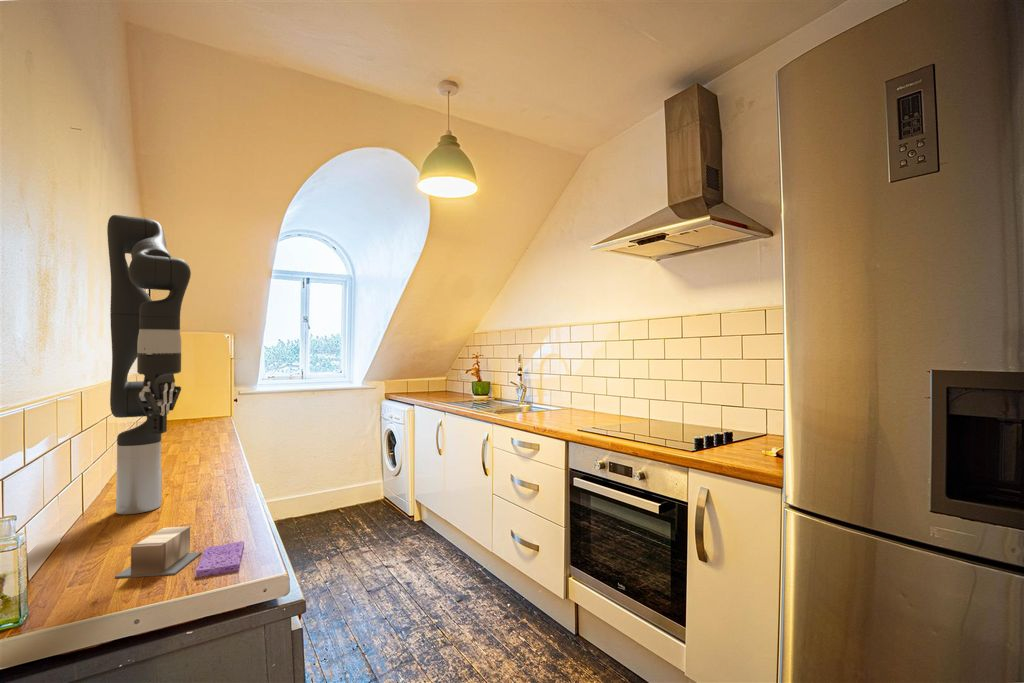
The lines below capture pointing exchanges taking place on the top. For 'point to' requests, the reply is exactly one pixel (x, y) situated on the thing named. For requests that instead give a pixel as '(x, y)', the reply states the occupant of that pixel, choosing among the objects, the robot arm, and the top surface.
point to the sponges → (220, 559)
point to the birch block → (160, 550)
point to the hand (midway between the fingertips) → (159, 433)
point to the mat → (169, 571)
